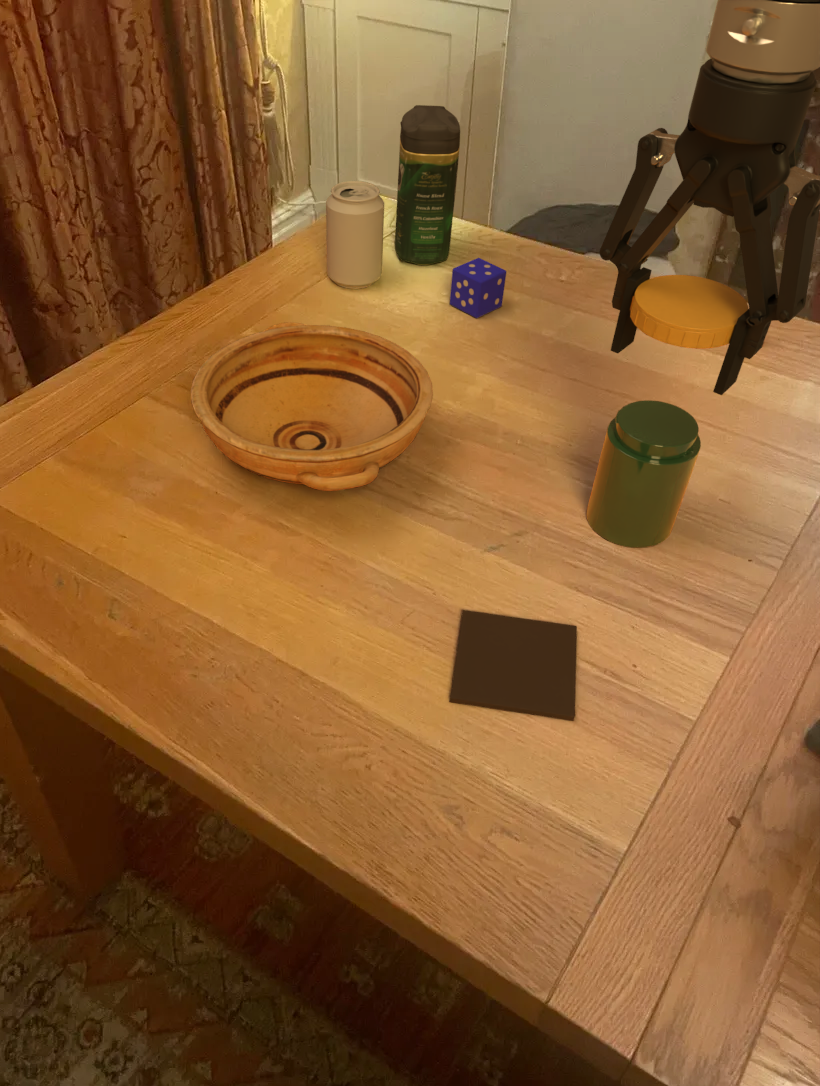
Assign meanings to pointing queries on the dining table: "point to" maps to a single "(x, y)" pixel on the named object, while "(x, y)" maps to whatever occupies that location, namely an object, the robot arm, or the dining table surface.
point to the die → (477, 287)
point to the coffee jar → (426, 184)
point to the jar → (643, 473)
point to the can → (354, 234)
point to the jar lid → (687, 311)
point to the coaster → (515, 665)
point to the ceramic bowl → (312, 403)
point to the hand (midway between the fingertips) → (671, 365)
